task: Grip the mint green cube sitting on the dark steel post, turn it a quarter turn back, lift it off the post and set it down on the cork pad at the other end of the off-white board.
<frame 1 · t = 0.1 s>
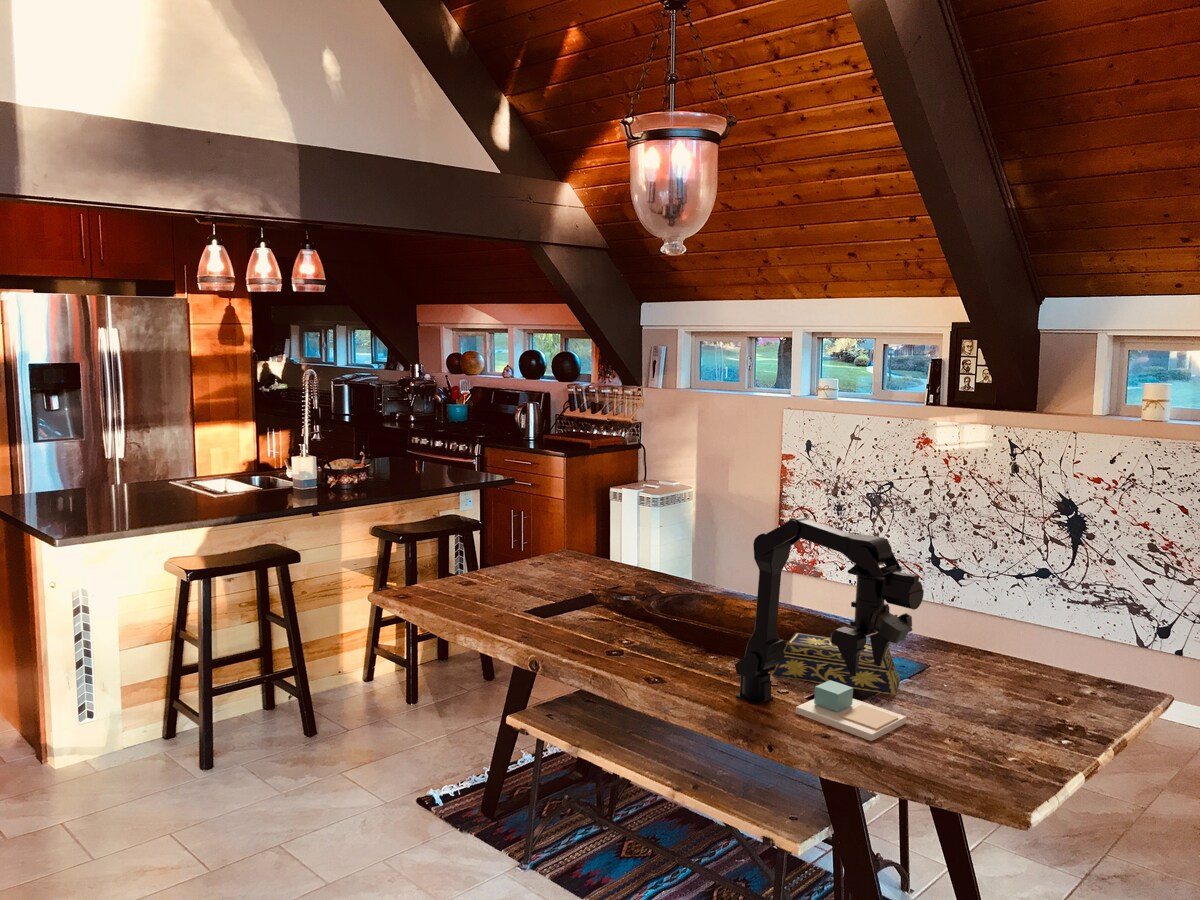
hand: (865, 670, 199), 15 cm above the table, tool pointing down, fingers open, 9 cm apart
mint green cube: (833, 704, 214), point 2 cm above the table, touching board
decorative box: (835, 679, 235), on the table
board: (850, 718, 211), on the table
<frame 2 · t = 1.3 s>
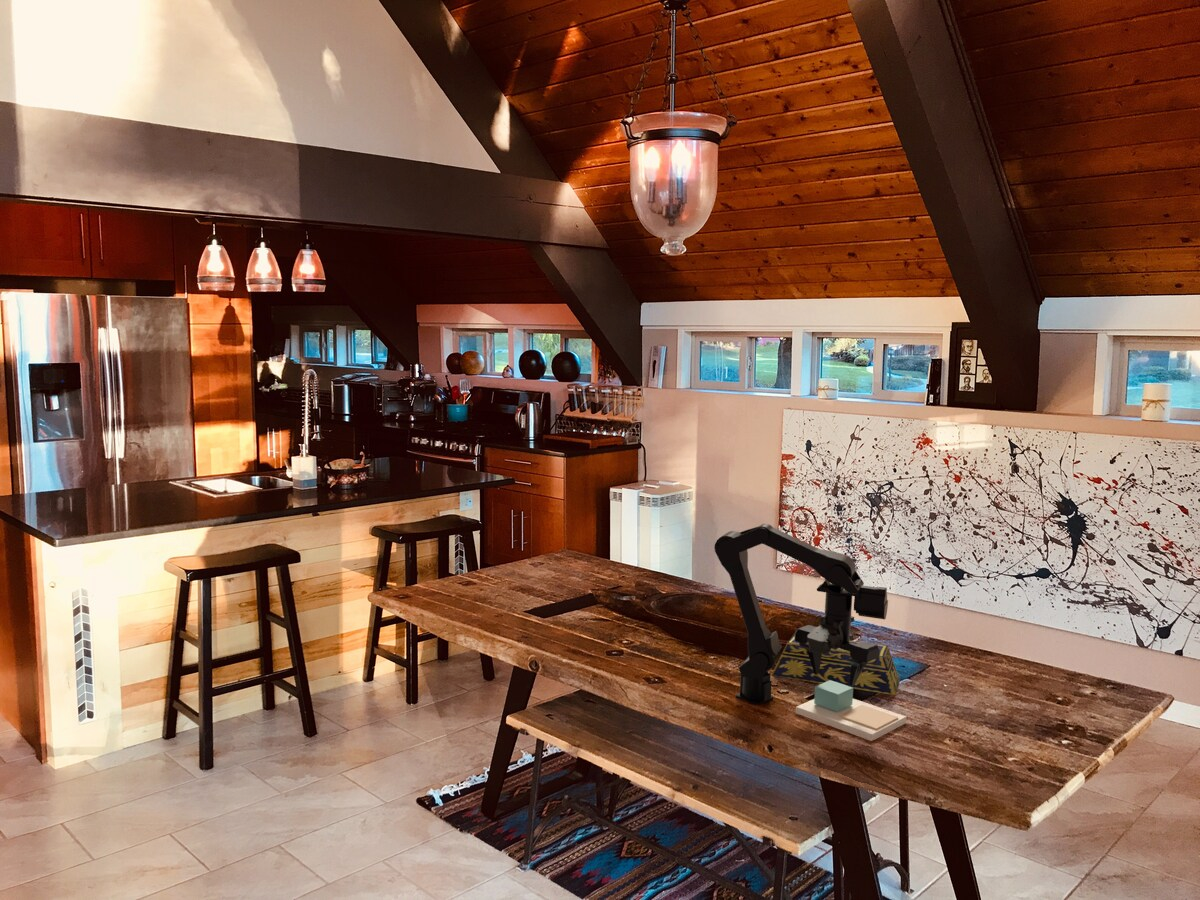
hand: (833, 680, 213), 7 cm above the table, tool pointing down, fingers open, 9 cm apart
nothing on the table moved.
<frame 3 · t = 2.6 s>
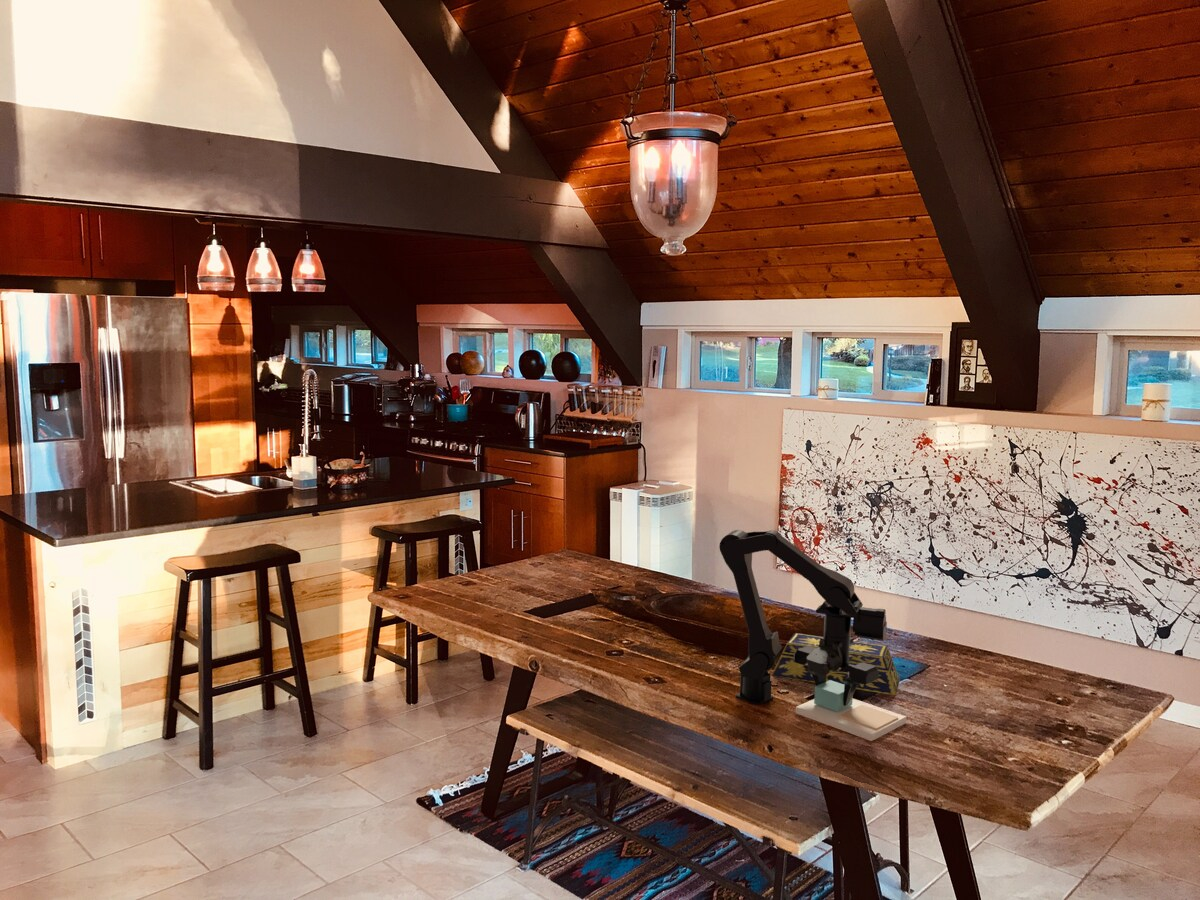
hand: (833, 701, 214), 3 cm above the table, tool pointing down, fingers closed on mint green cube, 6 cm apart
mint green cube: (833, 704, 214), point 2 cm above the table, touching board, gripper
everything else where it was.
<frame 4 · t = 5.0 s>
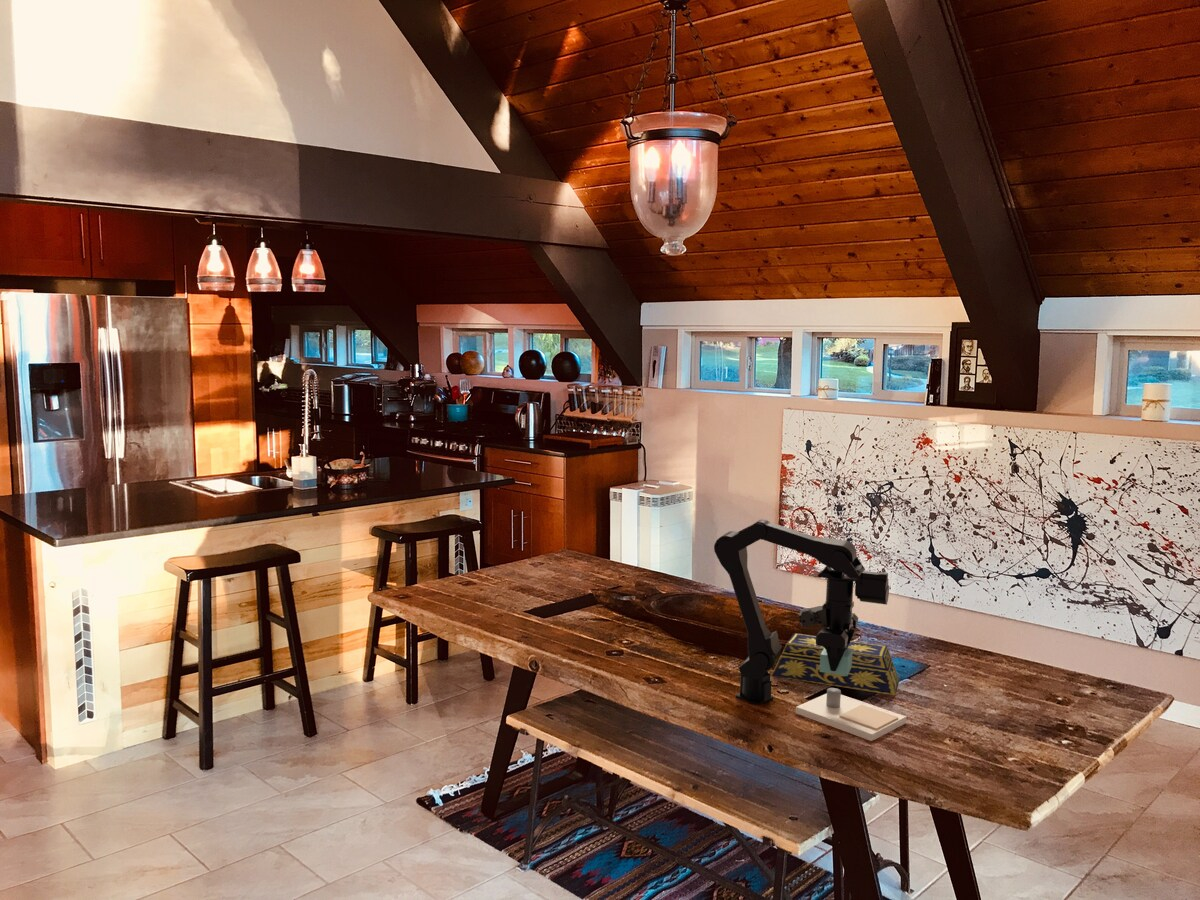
hand: (835, 666, 212), 11 cm above the table, tool pointing down, fingers closed on mint green cube, 6 cm apart
mint green cube: (835, 669, 212), point 10 cm above the table, touching gripper
everything else where it was.
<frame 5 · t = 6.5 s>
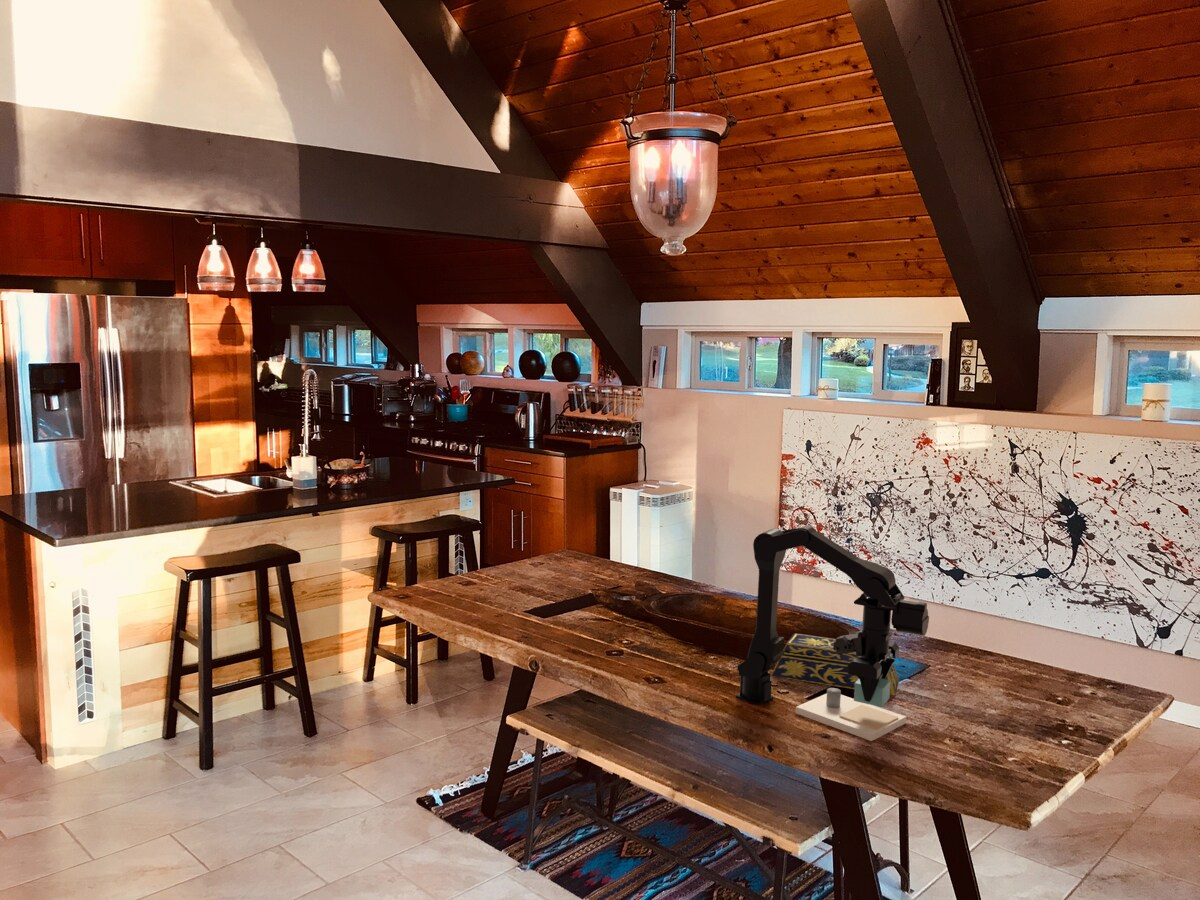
hand: (871, 696, 206), 7 cm above the table, tool pointing down, fingers closed on mint green cube, 6 cm apart
mint green cube: (871, 699, 206), point 6 cm above the table, touching gripper
everything else where it was.
when the fingers open (4 cm above the table, at t = 7.5 s): mint green cube drops 1 cm, resting on board.
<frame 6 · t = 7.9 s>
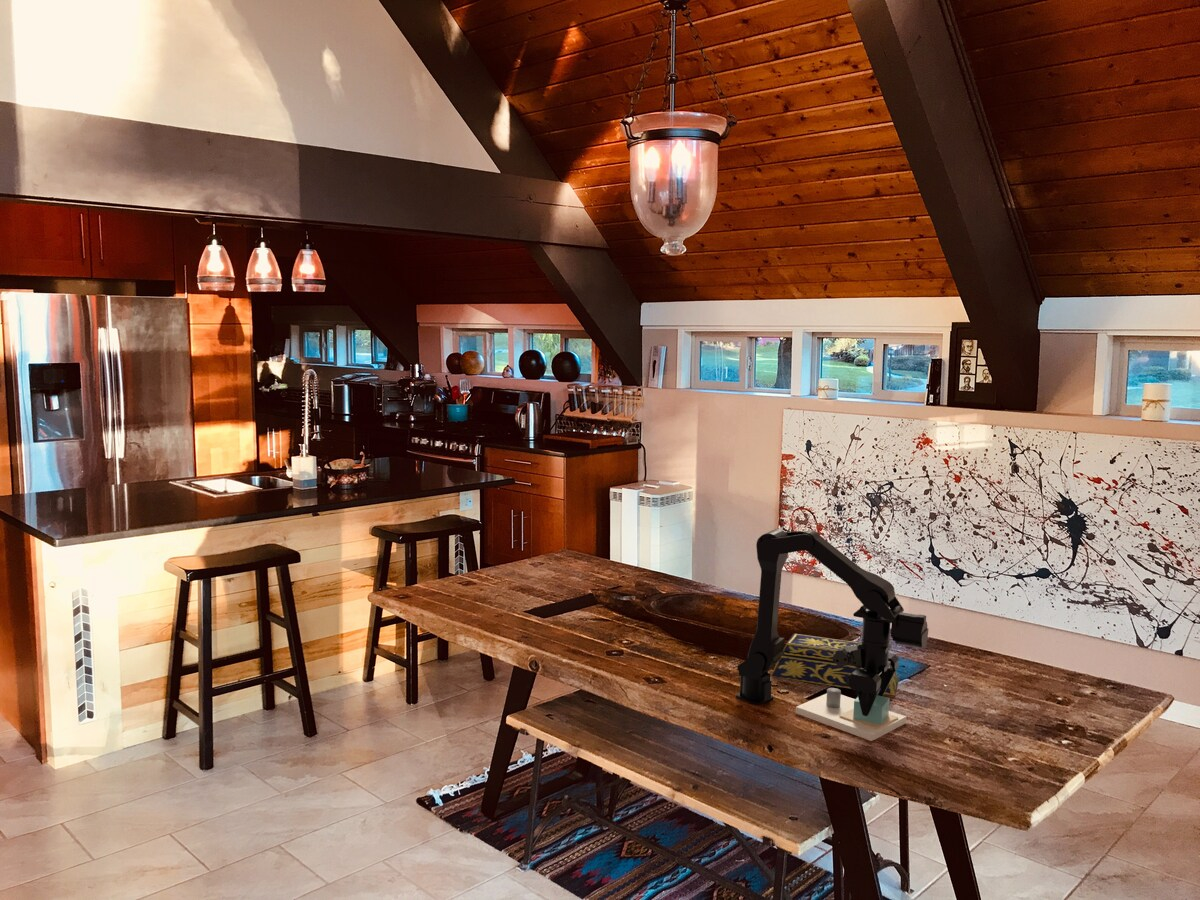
hand: (871, 708, 207), 4 cm above the table, tool pointing down, fingers open, 9 cm apart
mint green cube: (870, 717, 207), point 2 cm above the table, touching board
everything else where it was.
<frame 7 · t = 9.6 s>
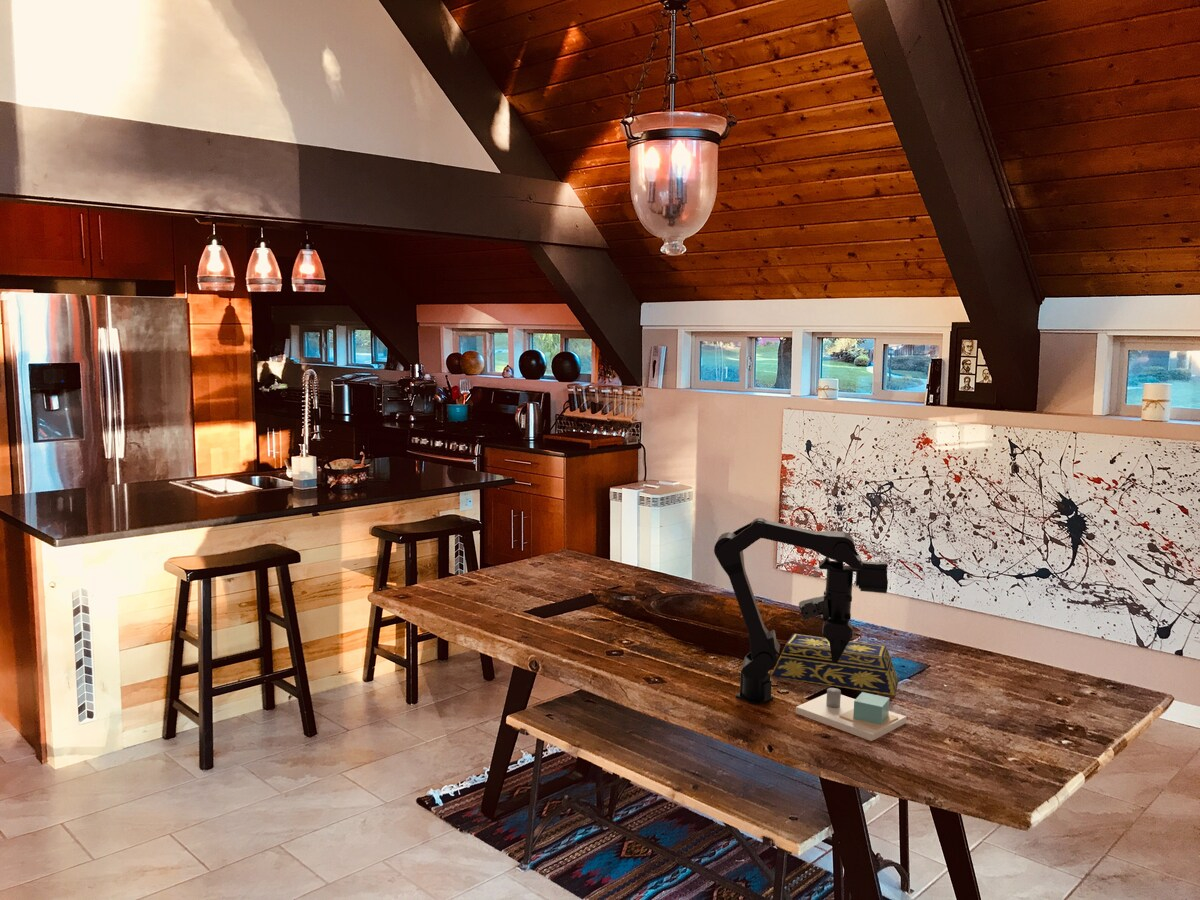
hand: (834, 655, 216), 12 cm above the table, tool pointing down, fingers open, 9 cm apart
nothing on the table moved.
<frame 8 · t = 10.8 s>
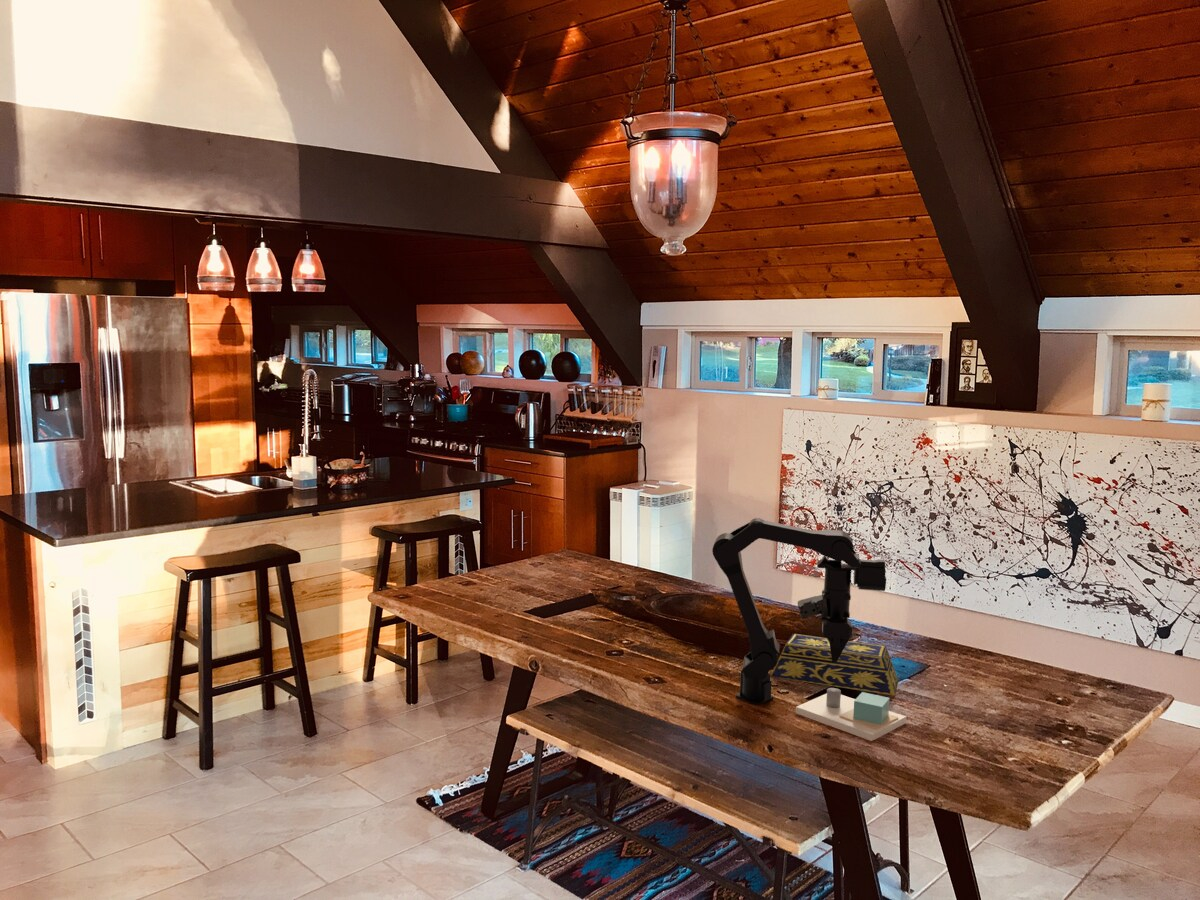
hand: (833, 654, 216), 12 cm above the table, tool pointing down, fingers open, 9 cm apart
nothing on the table moved.
at the end: mint green cube 0.5 cm from the target spot on the board, point 1.9 cm above the board's base; mint green cube tilted 0°; the gripper is holding nothing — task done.
